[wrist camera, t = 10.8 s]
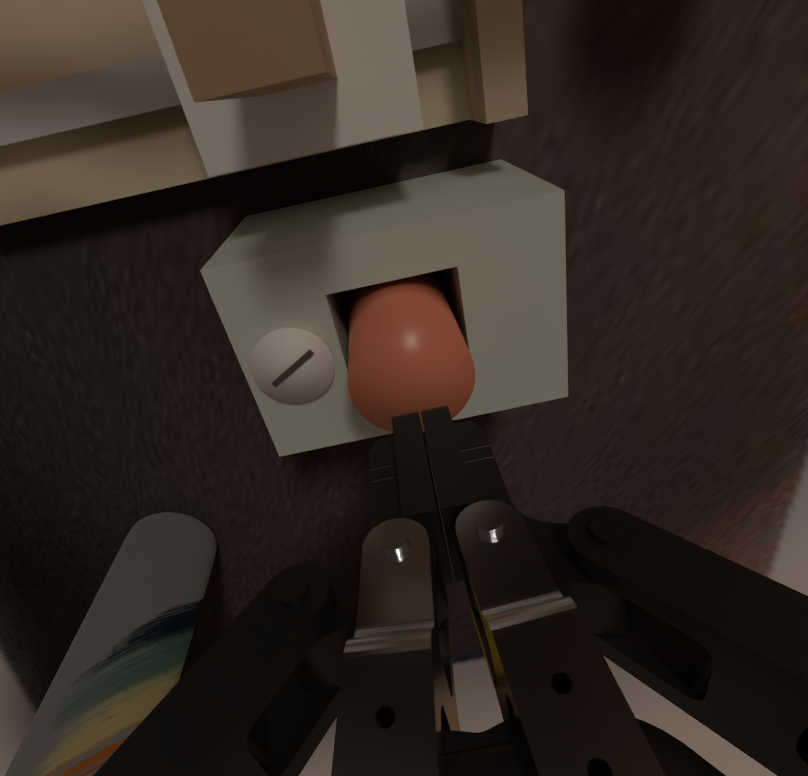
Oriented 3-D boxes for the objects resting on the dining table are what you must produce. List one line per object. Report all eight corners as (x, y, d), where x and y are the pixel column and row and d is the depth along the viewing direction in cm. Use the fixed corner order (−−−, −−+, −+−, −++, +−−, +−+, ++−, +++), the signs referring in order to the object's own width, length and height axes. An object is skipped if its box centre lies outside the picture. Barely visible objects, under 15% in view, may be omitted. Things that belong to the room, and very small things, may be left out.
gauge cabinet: (246, 216, 23) (196, 274, 16) (500, 159, 22) (569, 192, 15) (298, 363, 27) (278, 462, 20) (513, 317, 27) (571, 401, 20)
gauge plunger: (338, 273, 19) (333, 339, 14) (437, 251, 19) (467, 310, 14) (362, 360, 22) (364, 444, 16) (451, 341, 21) (481, 419, 16)
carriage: (165, -38, 16) (-103, -217, 7) (377, -88, 16) (410, -347, 6) (234, 161, 19) (119, 231, 10) (411, 121, 19) (467, 153, 10)
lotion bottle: (153, 575, 35) (-40, 1044, 18) (113, 519, 32) (-167, 1019, 15) (231, 559, 35) (112, 1016, 18) (198, 501, 32) (14, 986, 15)
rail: (-176, 47, 18) (-316, 37, 15) (479, -109, 18) (513, -163, 14) (-51, 233, 22) (-135, 263, 18) (497, 110, 21) (527, 115, 18)
